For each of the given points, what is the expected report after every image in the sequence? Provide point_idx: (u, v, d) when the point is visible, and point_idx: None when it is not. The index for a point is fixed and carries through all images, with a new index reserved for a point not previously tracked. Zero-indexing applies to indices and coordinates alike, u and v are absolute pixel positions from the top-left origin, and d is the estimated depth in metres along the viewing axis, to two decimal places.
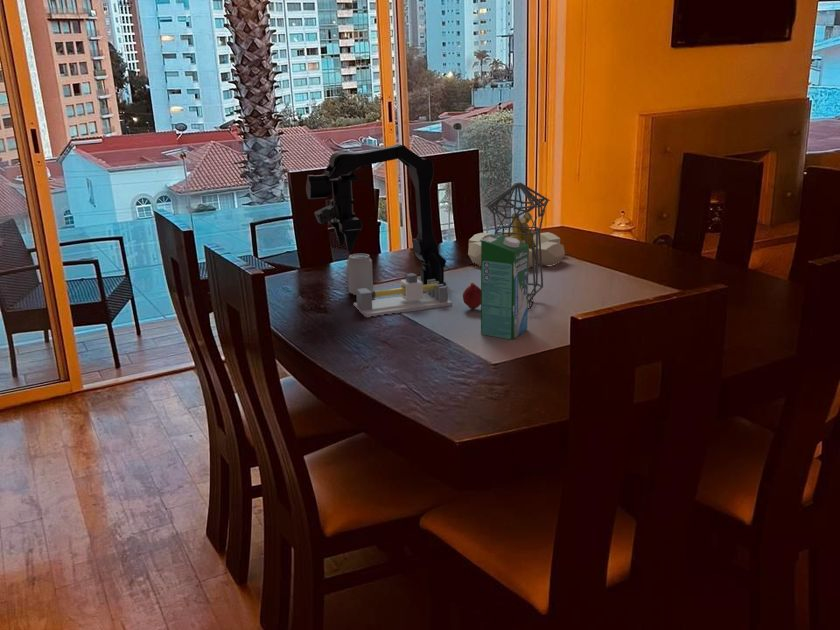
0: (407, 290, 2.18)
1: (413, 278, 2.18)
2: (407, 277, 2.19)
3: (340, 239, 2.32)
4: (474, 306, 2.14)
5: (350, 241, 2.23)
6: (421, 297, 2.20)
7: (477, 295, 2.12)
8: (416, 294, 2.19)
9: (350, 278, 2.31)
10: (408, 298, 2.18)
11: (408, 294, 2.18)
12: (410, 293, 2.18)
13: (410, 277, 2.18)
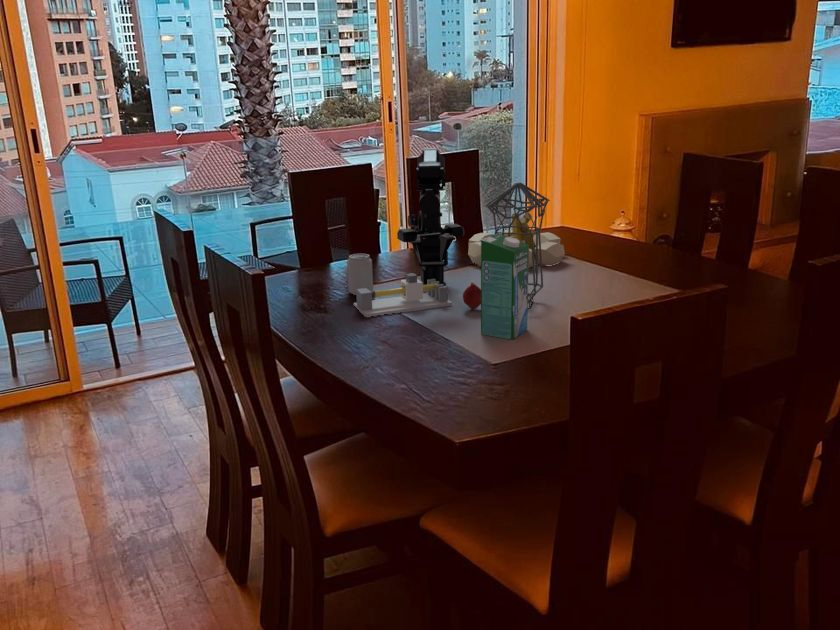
0: (407, 290, 2.18)
1: (413, 278, 2.18)
2: (407, 277, 2.19)
3: (440, 254, 2.21)
4: (474, 306, 2.14)
5: (417, 253, 2.18)
6: (421, 297, 2.20)
7: (477, 295, 2.12)
8: (416, 294, 2.19)
9: (350, 278, 2.31)
10: (408, 298, 2.18)
11: (408, 294, 2.18)
12: (410, 293, 2.18)
13: (410, 277, 2.18)
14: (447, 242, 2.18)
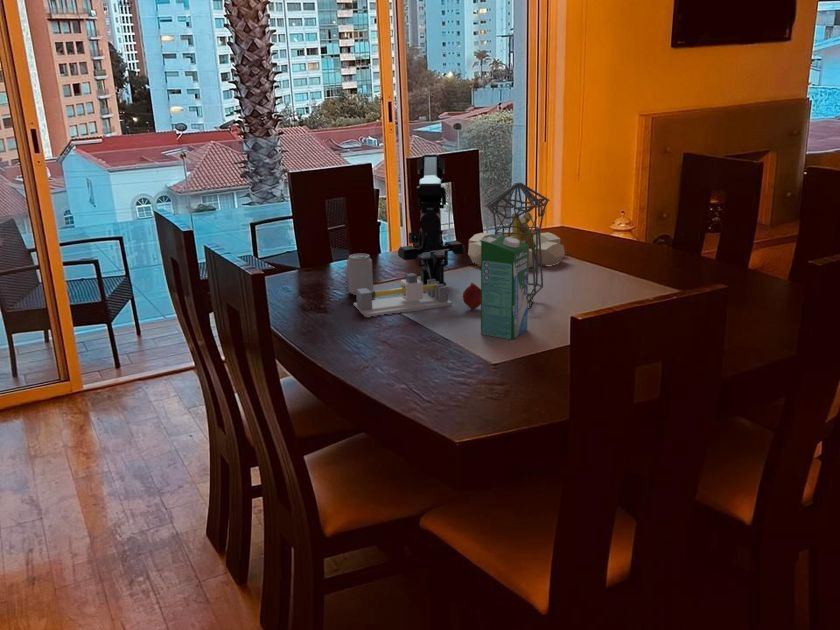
0: (407, 290, 2.18)
1: (413, 278, 2.18)
2: (407, 277, 2.19)
3: None
4: (474, 306, 2.14)
5: (427, 269, 2.21)
6: (421, 297, 2.20)
7: (477, 295, 2.12)
8: (416, 294, 2.19)
9: (350, 278, 2.31)
10: (408, 298, 2.18)
11: (408, 294, 2.18)
12: (410, 293, 2.18)
13: (410, 277, 2.18)
14: (438, 260, 2.18)
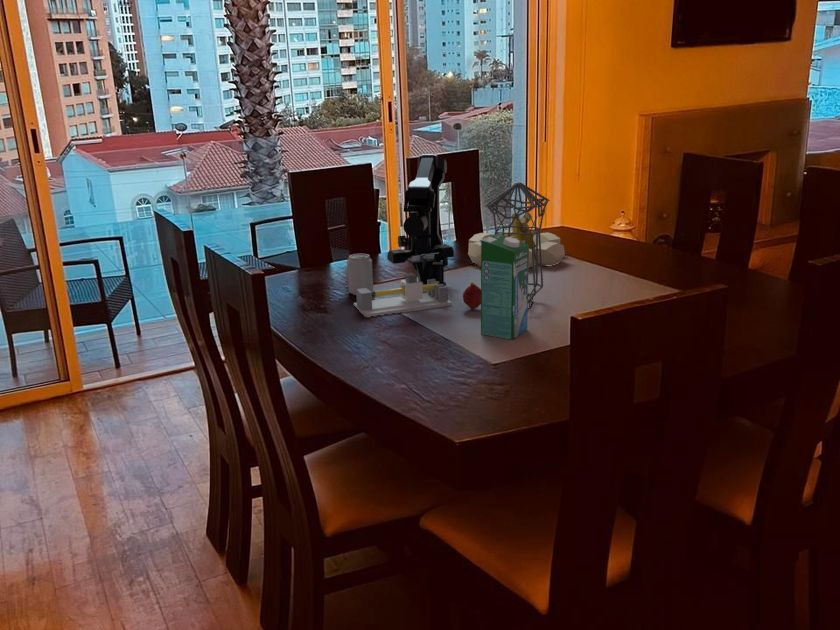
0: (407, 290, 2.18)
1: (412, 279, 2.18)
2: (407, 277, 2.19)
3: None
4: (474, 306, 2.14)
5: (417, 272, 2.20)
6: (421, 297, 2.20)
7: (477, 295, 2.12)
8: (416, 294, 2.19)
9: (350, 278, 2.31)
10: (408, 298, 2.18)
11: (408, 294, 2.18)
12: (409, 293, 2.18)
13: (410, 277, 2.18)
14: (427, 264, 2.17)
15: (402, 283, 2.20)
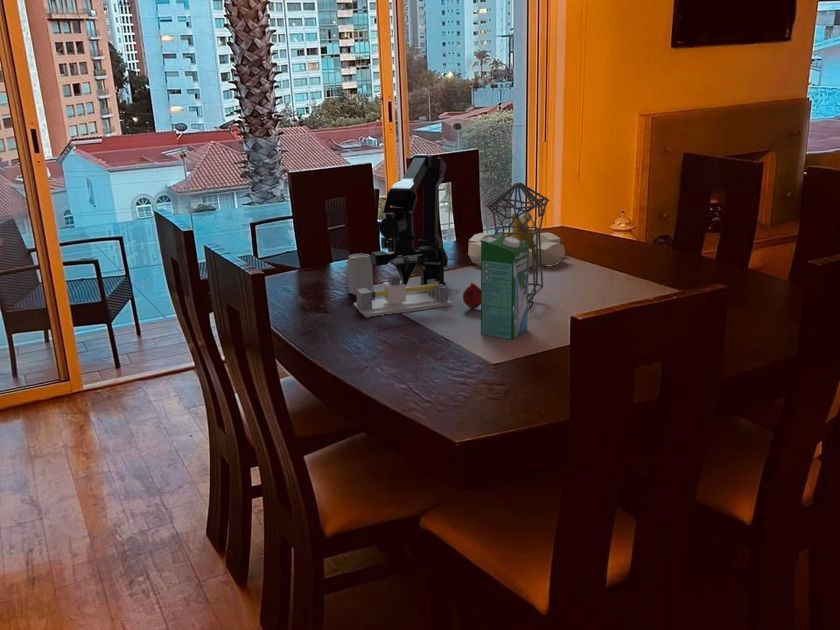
0: (390, 292, 2.16)
1: (395, 281, 2.17)
2: (390, 279, 2.17)
3: None
4: (474, 306, 2.14)
5: (400, 274, 2.18)
6: (404, 299, 2.18)
7: (477, 295, 2.12)
8: (399, 296, 2.17)
9: (350, 278, 2.31)
10: (391, 300, 2.17)
11: (391, 296, 2.16)
12: (392, 296, 2.16)
13: (393, 279, 2.16)
14: (410, 266, 2.16)
15: (385, 285, 2.18)
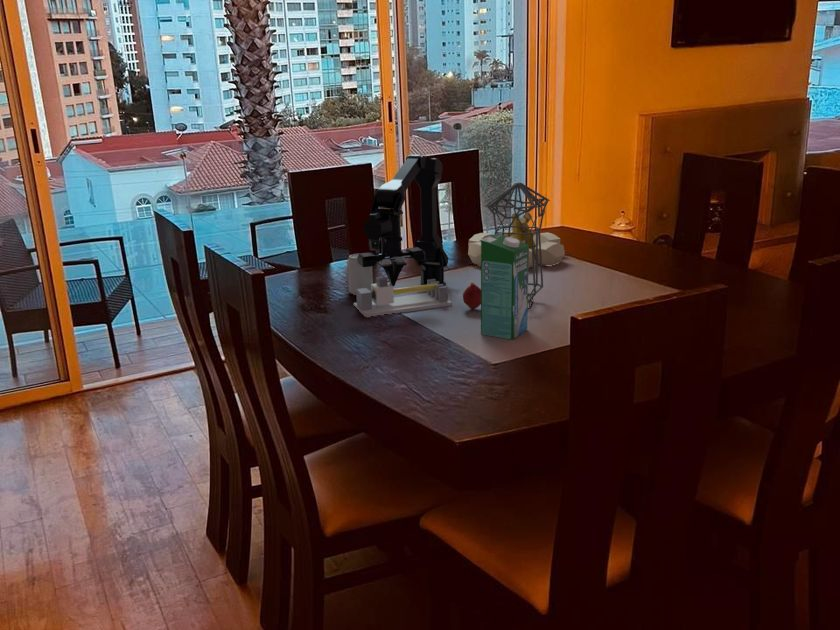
0: (377, 294, 2.15)
1: (383, 282, 2.15)
2: (377, 281, 2.16)
3: None
4: (474, 306, 2.14)
5: (388, 276, 2.17)
6: (392, 301, 2.17)
7: (477, 295, 2.12)
8: (386, 298, 2.16)
9: (350, 278, 2.31)
10: (378, 302, 2.15)
11: (378, 298, 2.15)
12: (380, 297, 2.15)
13: (380, 281, 2.15)
14: (398, 267, 2.14)
15: (373, 287, 2.17)
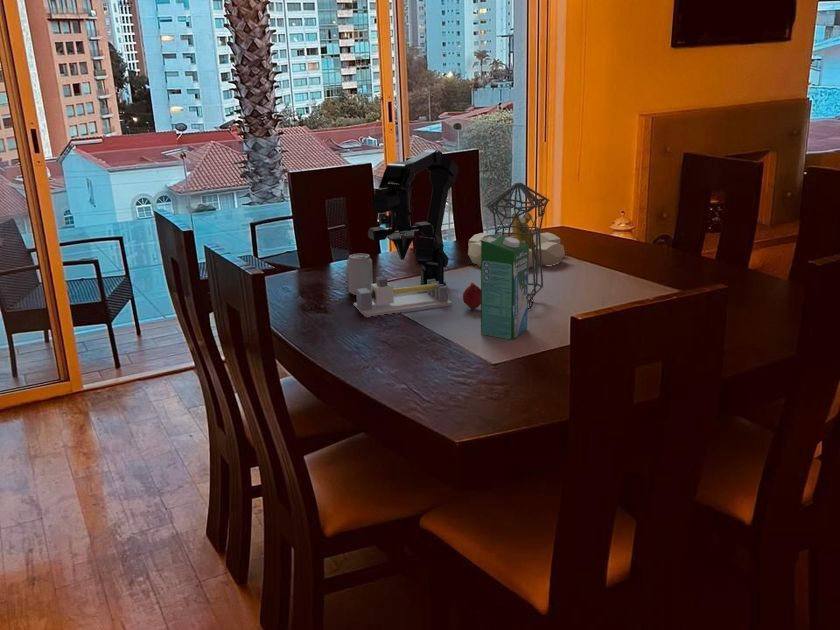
0: (377, 294, 2.15)
1: (383, 282, 2.15)
2: (377, 281, 2.16)
3: None
4: (474, 306, 2.14)
5: (397, 249, 2.24)
6: (392, 301, 2.17)
7: (477, 295, 2.12)
8: (386, 298, 2.16)
9: (350, 278, 2.31)
10: (378, 302, 2.15)
11: (378, 298, 2.15)
12: (380, 297, 2.15)
13: (380, 281, 2.15)
14: (407, 241, 2.22)
15: (373, 287, 2.17)
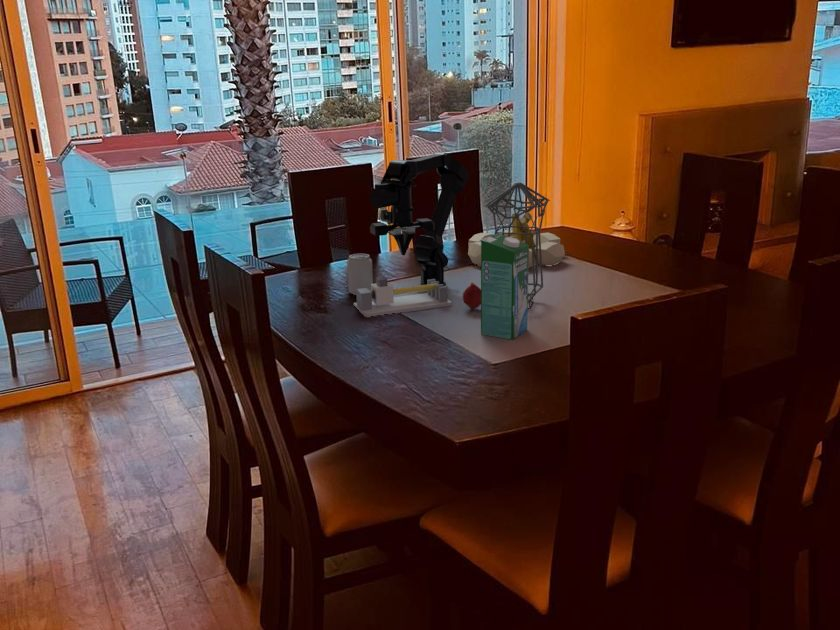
0: (377, 294, 2.15)
1: (383, 282, 2.15)
2: (377, 281, 2.16)
3: None
4: (474, 306, 2.14)
5: (398, 245, 2.28)
6: (392, 301, 2.17)
7: (477, 295, 2.12)
8: (386, 298, 2.16)
9: (350, 278, 2.31)
10: (378, 302, 2.15)
11: (378, 298, 2.15)
12: (380, 297, 2.15)
13: (380, 281, 2.15)
14: (408, 237, 2.26)
15: (373, 287, 2.17)
